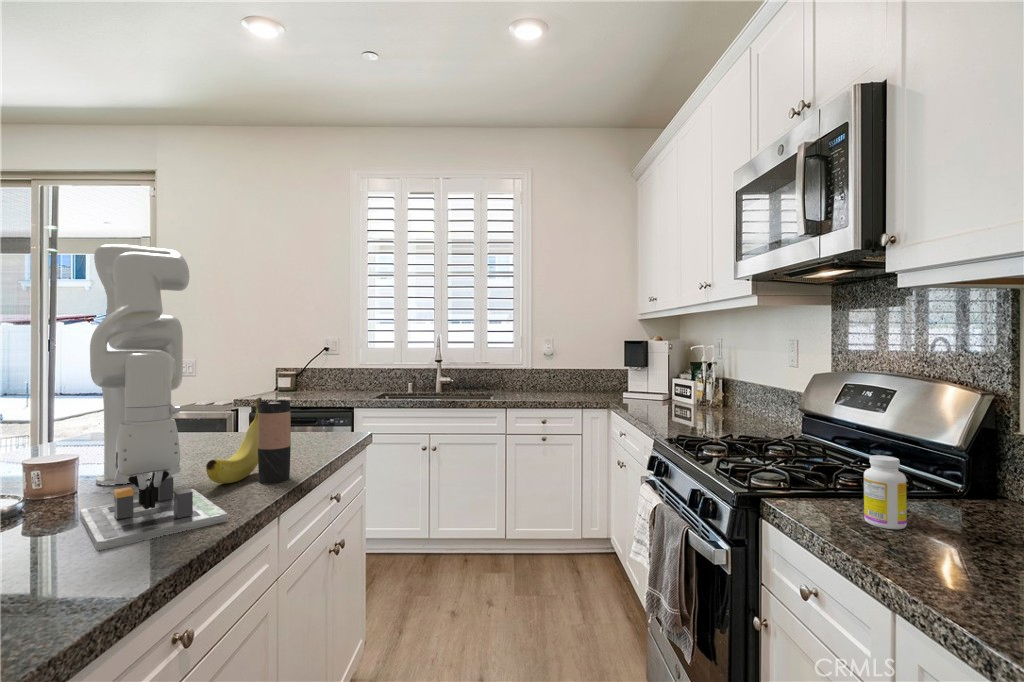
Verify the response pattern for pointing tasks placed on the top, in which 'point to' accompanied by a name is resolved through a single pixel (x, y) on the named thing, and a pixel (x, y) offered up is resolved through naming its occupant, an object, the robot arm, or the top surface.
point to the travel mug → (274, 441)
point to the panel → (147, 521)
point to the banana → (238, 457)
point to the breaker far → (166, 489)
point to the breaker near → (183, 503)
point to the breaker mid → (123, 502)
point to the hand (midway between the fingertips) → (148, 506)
